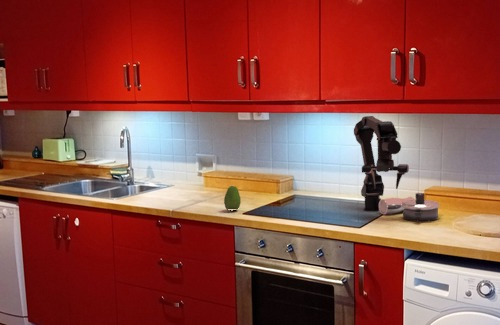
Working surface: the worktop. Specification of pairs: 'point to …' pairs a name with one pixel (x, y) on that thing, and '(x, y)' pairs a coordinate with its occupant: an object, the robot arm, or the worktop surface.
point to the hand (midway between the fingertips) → (385, 188)
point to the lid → (420, 203)
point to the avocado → (232, 198)
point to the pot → (420, 215)
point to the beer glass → (392, 205)
